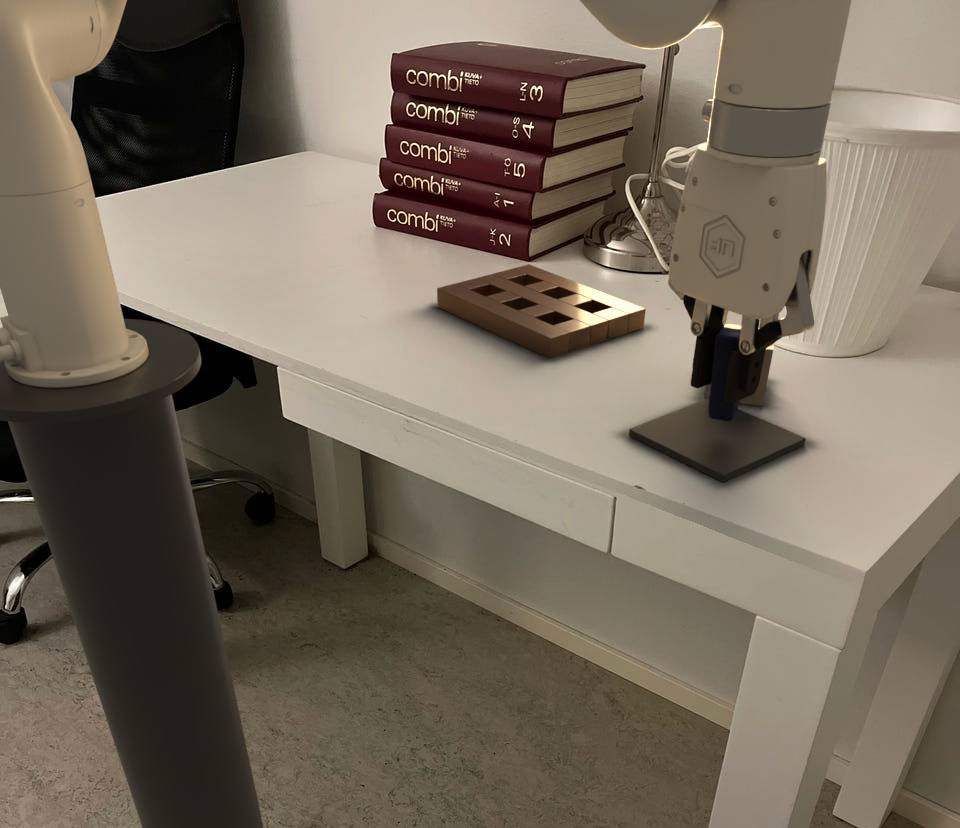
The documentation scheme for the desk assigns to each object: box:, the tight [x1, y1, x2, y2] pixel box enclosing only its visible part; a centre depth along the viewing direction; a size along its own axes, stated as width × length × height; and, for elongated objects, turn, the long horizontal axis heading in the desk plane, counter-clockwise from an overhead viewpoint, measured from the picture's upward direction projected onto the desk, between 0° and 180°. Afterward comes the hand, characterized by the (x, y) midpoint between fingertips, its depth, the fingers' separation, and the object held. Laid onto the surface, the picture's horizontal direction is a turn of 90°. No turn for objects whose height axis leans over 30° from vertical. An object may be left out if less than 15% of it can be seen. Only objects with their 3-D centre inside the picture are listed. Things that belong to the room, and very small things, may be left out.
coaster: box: [628, 398, 807, 483], centre depth 78 cm, size 10×10×1 cm
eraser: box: [709, 327, 741, 421], centre depth 75 cm, size 2×2×7 cm
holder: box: [436, 264, 646, 359], centre depth 100 cm, size 13×18×2 cm
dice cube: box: [703, 323, 775, 407], centre depth 84 cm, size 5×5×5 cm
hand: (722, 388), depth 76 cm, fingers closed on eraser, 2 cm apart
